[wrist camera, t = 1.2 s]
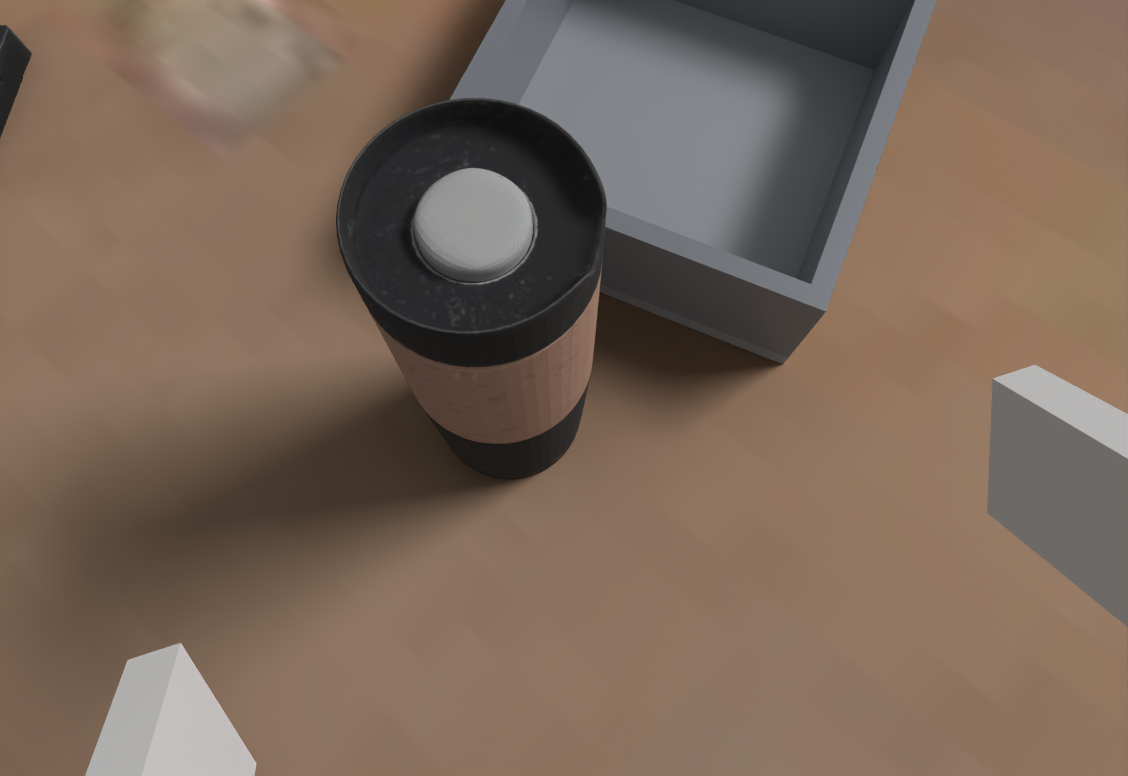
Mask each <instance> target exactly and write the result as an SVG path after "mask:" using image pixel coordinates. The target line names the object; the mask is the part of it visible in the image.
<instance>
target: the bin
mask: <svg viewBox="0 0 1128 776" xmlns="http://www.w3.org/2000/svg"><path fill="white" fill-rule="evenodd" d="M936 1H937V0H506V1H505V2H504V4H503V6H502V8H501V9H500V11H499V13H498V15H497V17H496V18H495V20H494V22H493V24H492V25H491V27H490V29H489V31H488V32H487V34H486V36H485V38H484V40H483V41H482V43H481V45H480V47H479V48H478V50H477V52H476V54H475V55H474V57H473V59H472V61H471V63H470V64H469V66H468V68H467V70H466V71H465V73H464V75H463V77H462V78H461V80H460V82H459V84H458V86H457V87H456V89H455V91H454V93H453V94H452V96H451V98H450V100H452V99H461V98H488V99H497V100H502V101H507V102H511V103H516V104H518V105H521V106H524V107H527V108H530V109H532V110H534V111H536V112H538V113H540V114H542V115H544V116H546V117H548V118H549V119H551V120H552V121H554V122H555V123H557V124H558V125H560V126H561V127H562V128H563V129H564V130H565V131H567V132H568V133H569V134H570V135H571V136H572V137H573V138H574V139H575V140H576V141H577V142H578V144H579V145H580V146H581V147H582V148H583V150H584V151H585V153H586V154H587V155H588V157H589V158H590V160H591V161H592V163H593V165H594V167H595V169H596V171H597V172H598V175H599V177H600V179H601V182H602V184H603V187H604V190H605V195H606V201H607V212H606V226H605V239H604V250H603V260H602V270H601V280H600V291H599V292H601V293H603V294H606V295H608V296H611V297H613V298H616V299H618V300H621V301H623V302H626V303H628V304H631V305H633V306H636V307H639V308H641V309H644V310H646V311H649V312H651V313H654V314H656V315H659V316H661V317H664V318H666V319H669V320H672V321H674V322H677V323H679V324H682V325H684V326H687V327H689V328H692V329H694V330H697V331H699V332H702V333H704V334H707V335H710V336H712V337H715V338H717V339H720V340H722V341H725V342H727V343H730V344H732V345H735V346H737V347H740V348H742V349H745V350H748V351H750V352H753V353H755V354H758V355H760V356H763V357H765V358H768V359H770V360H773V361H775V362H778V363H780V364H784V362H785V361H786V360H787V359H788V357H789V356H790V355H791V354H792V352H793V351H794V350H795V349H796V348H797V346H798V345H799V344H800V343H801V341H802V340H803V339H804V338H805V337H806V335H807V334H808V333H809V332H810V330H811V329H812V328H813V327H814V325H815V324H816V323H817V322H818V321H819V319H820V318H821V317H822V316H823V314H824V313H825V312H826V310H827V307H828V304H829V301H830V298H831V296H832V293H833V290H834V287H835V284H836V282H837V279H838V276H839V273H840V270H841V268H842V265H843V262H844V259H845V256H846V254H847V251H848V248H849V245H850V242H851V239H852V237H853V234H854V231H855V228H856V225H857V223H858V220H859V217H860V214H861V211H862V209H863V206H864V203H865V200H866V197H867V194H868V192H869V189H870V186H871V183H872V180H873V178H874V175H875V172H876V169H877V166H878V164H879V161H880V158H881V155H882V152H883V150H884V147H885V144H886V141H887V138H888V135H889V133H890V130H891V127H892V124H893V121H894V119H895V116H896V113H897V110H898V107H899V105H900V102H901V99H902V96H903V93H904V90H905V88H906V85H907V82H908V79H909V76H910V74H911V71H912V68H913V65H914V62H915V60H916V57H917V54H918V51H919V48H920V46H921V43H922V40H923V37H924V34H925V31H926V29H927V26H928V23H929V20H930V17H931V15H932V12H933V9H934V6H935V3H936Z"/></svg>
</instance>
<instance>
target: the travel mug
mask: <svg viewBox="0 0 1128 776" xmlns="http://www.w3.org/2000/svg"><path fill="white" fill-rule="evenodd" d="M606 212H607V201H606V195H605V190H604V187H603V184H602V182H601V179H600V177H599V175H598V172H597V171H596V169H595V167H594V165H593V163H592V161H591V160H590V158H589V157H588V155H587V154H586V153H585V151H584V150H583V148H582V147H581V146H580V145H579V144H578V142H577V141H576V140H575V139H574V138H573V137H572V136H571V135H570V134H569V133H568V132H567V131H565V130H564V129H563V128H562V127H561V126H560V125H558V124H557V123H555V122H554V121H552V120H551V119H549V118H548V117H546V116H544V115H542V114H540V113H538V112H536V111H534V110H532V109H530V108H527V107H524V106H521V105H518V104H516V103H511V102H507V101H502V100H497V99H488V98H461V99H452V100H446V101H442V102H437V103H433V104H430V105H427V106H424V107H421V108H419V109H416V110H414V111H412V112H410V113H408V114H406V115H403V116H402V117H400V118H398V119H397V120H395V121H394V122H392V123H390V124H389V125H388V126H386V127H385V128H384V129H383V130H381V131H380V132H379V133H378V134H376V135H375V136H374V137H373V138H372V139H371V140H370V141H369V142H368V144H367V145H366V146H365V147H364V148H363V149H362V151H361V152H360V153H359V155H358V156H357V157H356V159H355V160H354V162H353V164H352V166H351V167H350V169H349V171H348V173H347V175H346V178H345V180H344V183H343V185H342V188H341V192H340V196H339V200H338V204H337V215H336V227H337V238H338V243H339V247H340V252H341V255H342V258H343V261H344V263H345V266H346V269H347V271H348V273H349V275H350V277H351V279H352V281H353V283H354V284H355V286H356V288H357V290H358V292H359V294H360V295H361V297H362V299H363V301H364V303H365V305H366V306H367V308H368V310H369V312H370V314H371V316H372V317H373V319H374V321H375V323H376V325H377V327H378V329H379V330H380V332H381V334H382V336H383V338H384V340H385V341H386V343H387V345H388V347H389V349H390V351H391V352H392V354H393V356H394V358H395V360H396V362H397V364H398V365H399V367H400V369H401V371H402V373H403V375H404V376H405V378H406V380H407V382H408V384H409V386H410V387H411V389H412V391H413V393H414V395H415V397H416V398H417V400H418V402H419V404H420V405H421V407H422V408H423V409H424V411H425V412H426V414H427V415H428V416H429V418H430V419H431V421H432V422H433V423H434V425H435V426H436V428H437V429H438V430H439V432H440V433H441V435H442V436H443V437H444V439H445V440H446V442H447V443H448V444H449V446H450V447H451V448H452V450H453V451H454V452H455V453H456V454H457V455H458V457H459V458H460V459H461V460H462V461H464V462H465V463H466V464H467V465H469V466H470V467H471V468H473V469H475V470H477V471H478V472H481V473H483V474H485V475H488V476H492V477H496V478H503V479H517V478H524V477H528V476H532V475H534V474H537V473H539V472H542V471H543V470H545V469H547V468H549V467H550V466H552V465H553V464H554V463H556V462H557V461H558V460H559V459H560V458H561V457H562V456H563V455H564V454H565V452H566V451H567V450H568V448H569V447H570V445H571V443H572V442H573V440H574V438H575V435H576V433H577V430H578V427H579V423H580V419H581V416H582V411H583V407H584V402H585V398H586V393H587V389H588V384H589V380H590V375H591V370H592V362H593V353H594V343H595V332H596V322H597V312H598V301H599V291H600V280H601V270H602V260H603V250H604V239H605V226H606Z"/></svg>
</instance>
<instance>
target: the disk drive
mask: <svg viewBox="0 0 1128 776" xmlns="http://www.w3.org/2000/svg"><path fill="white" fill-rule="evenodd" d="M31 55H32V52H31V51H30V50H29V49H28V48H27V47H26V46H25V45H24V44H23V42H22V41H21V40H20V39H19V38H18V37H17V36H16V35H15V34H14V33H13V31H12V30H11V29H10V28H9V27H8V26H5V25H4V26H2V25H0V137H1V135H2V132H3V129H4V126H5V124H6V121H7V118H8V116H9V113H10V111H11V108H12V106H13V102H14V100H15V97H16V95H17V92H18V89H19V87H20V84H21V82H22V79H23V74H24V71H25V69H26V66H27V65H28V62H29V60H30V57H31Z"/></svg>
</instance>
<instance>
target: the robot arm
mask: <svg viewBox="0 0 1128 776" xmlns="http://www.w3.org/2000/svg"><path fill="white" fill-rule="evenodd" d="M987 513H988V514H989V515H991V516H992V517H993V518H994V519H996V520H997V521H998V522H999V523H1000V524H1002V525H1003V526H1004V527H1005V528H1007V529H1008V530H1009V531H1010V532H1012V533H1013V534H1014V535H1015V536H1016V537H1018V538H1019V539H1020V540H1021V541H1023V542H1024V543H1025V544H1026V545H1028V546H1029V547H1030V548H1031V549H1032V550H1034V551H1035V552H1036V553H1037V554H1039V555H1040V556H1041V557H1042V558H1044V559H1045V560H1046V561H1047V562H1048V563H1050V564H1051V565H1052V566H1053V567H1055V568H1056V569H1057V570H1058V571H1059V572H1061V573H1062V574H1063V575H1064V576H1066V577H1067V578H1068V579H1069V580H1071V581H1072V582H1073V583H1074V584H1075V585H1077V586H1078V587H1079V588H1080V589H1082V590H1083V591H1084V592H1085V593H1087V594H1088V595H1089V596H1090V597H1091V598H1093V599H1094V600H1095V601H1096V602H1098V603H1099V604H1100V605H1101V606H1102V607H1104V608H1105V609H1106V610H1107V611H1109V612H1110V613H1111V614H1112V615H1114V616H1115V617H1116V618H1117V619H1118V620H1120V621H1121V622H1122V623H1123V624H1125V625H1126V626H1127V627H1128V414H1126V413H1124V412H1122V411H1121V410H1119V409H1117V408H1115V407H1113V406H1111V405H1109V404H1107V403H1106V402H1104V401H1102V400H1100V399H1098V398H1096V397H1094V396H1093V395H1091V394H1089V393H1087V392H1085V391H1083V390H1081V389H1079V388H1078V387H1076V386H1074V385H1072V384H1070V383H1068V382H1066V381H1064V380H1063V379H1061V378H1059V377H1057V376H1055V375H1053V374H1051V373H1049V372H1048V371H1046V370H1044V369H1042V368H1040V367H1038V366H1036V365H1033V366H1030V367H1027V368H1024V369H1021V370H1018V371H1015V372H1012V373H1009V374H1006V375H1002V376H999V377H996V378H993V383H992V408H991V433H990V458H989V483H988V508H987ZM255 769H256V762H255V761H254V759H253V757H252V756H251V754H250V753H249V751H248V749H247V748H246V746H245V745H244V743H243V741H242V740H241V738H240V737H239V735H238V733H237V732H236V730H235V729H234V727H233V725H232V724H231V722H230V721H229V719H228V717H227V716H226V714H225V713H224V711H223V710H222V708H221V706H220V705H219V703H218V702H217V700H216V698H215V697H214V695H213V694H212V692H211V690H210V689H209V687H208V686H207V684H206V682H205V681H204V679H203V678H202V676H201V674H200V673H199V671H198V670H197V668H196V666H195V665H194V663H193V662H192V660H191V658H190V657H189V655H188V654H187V652H186V650H185V649H184V647H183V646H182V644H181V643H178V644H175V645H172V646H169V647H166V648H163V649H160V650H157V651H154V652H150V653H147V654H144V655H141V656H138V657H135V658H132V659H129V660H128V661H127V663H126V666H125V669H124V671H123V674H122V677H121V680H120V682H119V685H118V688H117V691H116V693H115V696H114V699H113V701H112V704H111V707H110V710H109V712H108V715H107V718H106V720H105V723H104V726H103V729H102V731H101V734H100V737H99V740H98V742H97V745H96V748H95V750H94V753H93V756H92V759H91V761H90V764H89V767H88V769H87V772H86V775H85V776H255Z"/></svg>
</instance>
